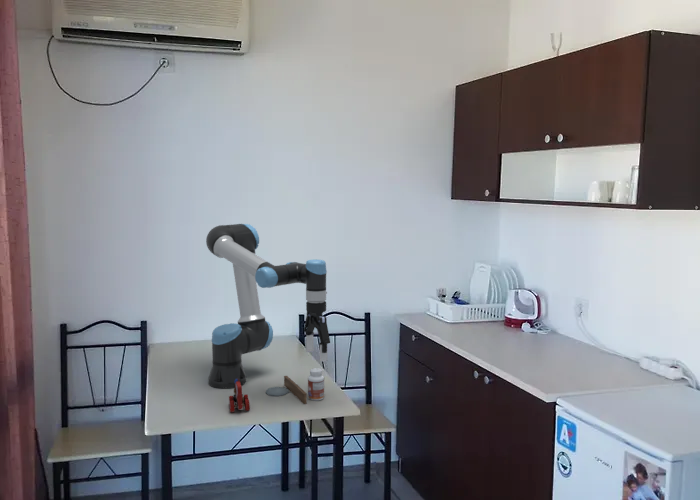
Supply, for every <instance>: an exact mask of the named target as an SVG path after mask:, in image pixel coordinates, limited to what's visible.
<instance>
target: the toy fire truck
mask: <svg viewBox="0 0 700 500" xmlns="http://www.w3.org/2000/svg"><path fill="white" fill-rule="evenodd" d="M234 383H235V387H234V389H233V393H234V394H233V395H230V396H228V403H229V404H228V405H229V412H230V413H235V411H236V408H237V410H238V411H239V410H243V408H244V410H245V411H244V412H248V411H250V408H251V407H250V406H251V405H250V399H249V395H248V394H244V393H243V387H242V386H243V385H241V383H240V380H239V379H235V381H234Z"/></svg>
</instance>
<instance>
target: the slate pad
mask: <svg viewBox="0 0 700 500" xmlns="http://www.w3.org/2000/svg"><path fill="white" fill-rule="evenodd" d="M289 393H290V391H289V389H287V388H286V387H285V386H272V387H269V388H267V389H266V390H265V394H266V395H268V396H271V397H283V396H286V395H288V394H289Z"/></svg>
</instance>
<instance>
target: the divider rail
mask: <svg viewBox="0 0 700 500" xmlns="http://www.w3.org/2000/svg"><path fill="white" fill-rule="evenodd" d="M283 385H284V386H283V387H285V388H287V389H289V393H291V394H292V395H294V397H296V398H297V400H299V401H300V402H301V403H302V404H303V405H306V404H308V403H307V402H308V392H307V391H305V390H304V389H303V388H301V387H300V386H299V385H298V384H297V383H296V381H295V382H294V381H293V380H292V379H291V377H289V376H288V375H284V376H283Z"/></svg>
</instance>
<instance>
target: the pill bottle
mask: <svg viewBox="0 0 700 500" xmlns="http://www.w3.org/2000/svg"><path fill="white" fill-rule="evenodd" d="M324 398H325V377H324V375H323V369H322V368H319V367H314V368H311V369H309V375H308V376H307V399H309V400H310V401H321V400H323V399H324Z"/></svg>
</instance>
